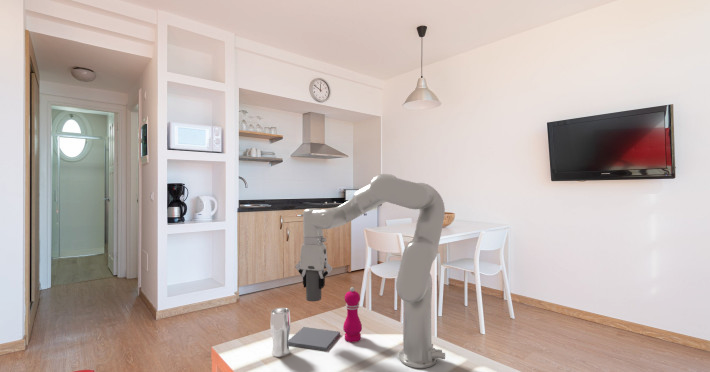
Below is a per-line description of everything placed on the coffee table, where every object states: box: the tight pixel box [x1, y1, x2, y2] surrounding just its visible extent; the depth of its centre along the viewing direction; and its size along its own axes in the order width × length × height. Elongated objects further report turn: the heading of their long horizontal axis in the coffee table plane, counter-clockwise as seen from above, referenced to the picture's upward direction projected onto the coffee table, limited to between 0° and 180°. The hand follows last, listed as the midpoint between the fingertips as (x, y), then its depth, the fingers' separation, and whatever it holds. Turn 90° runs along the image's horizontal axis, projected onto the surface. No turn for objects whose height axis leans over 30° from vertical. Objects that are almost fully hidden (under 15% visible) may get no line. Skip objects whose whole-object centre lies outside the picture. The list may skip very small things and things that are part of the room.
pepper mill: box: [342, 286, 363, 343], centre depth 132 cm, size 7×7×20 cm
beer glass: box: [269, 307, 291, 358], centre depth 121 cm, size 7×7×15 cm
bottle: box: [305, 266, 322, 302], centre depth 131 cm, size 6×6×15 cm
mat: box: [288, 326, 341, 352], centre depth 131 cm, size 16×14×1 cm
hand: (313, 286), depth 131 cm, fingers closed on bottle, 5 cm apart
